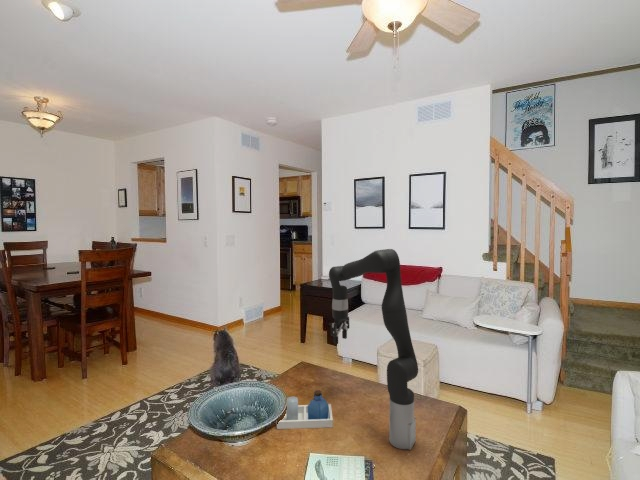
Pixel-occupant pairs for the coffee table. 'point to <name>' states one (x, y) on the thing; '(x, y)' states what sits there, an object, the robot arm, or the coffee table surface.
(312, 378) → the coffee table surface
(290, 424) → the tray
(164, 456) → the coffee table surface
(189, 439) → the coffee table surface
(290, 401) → the grey rounded cylinder
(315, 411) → the perfume bottle
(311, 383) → the coffee table surface
